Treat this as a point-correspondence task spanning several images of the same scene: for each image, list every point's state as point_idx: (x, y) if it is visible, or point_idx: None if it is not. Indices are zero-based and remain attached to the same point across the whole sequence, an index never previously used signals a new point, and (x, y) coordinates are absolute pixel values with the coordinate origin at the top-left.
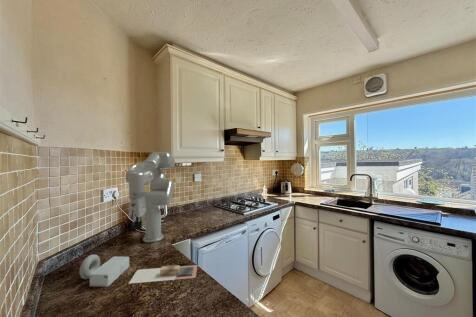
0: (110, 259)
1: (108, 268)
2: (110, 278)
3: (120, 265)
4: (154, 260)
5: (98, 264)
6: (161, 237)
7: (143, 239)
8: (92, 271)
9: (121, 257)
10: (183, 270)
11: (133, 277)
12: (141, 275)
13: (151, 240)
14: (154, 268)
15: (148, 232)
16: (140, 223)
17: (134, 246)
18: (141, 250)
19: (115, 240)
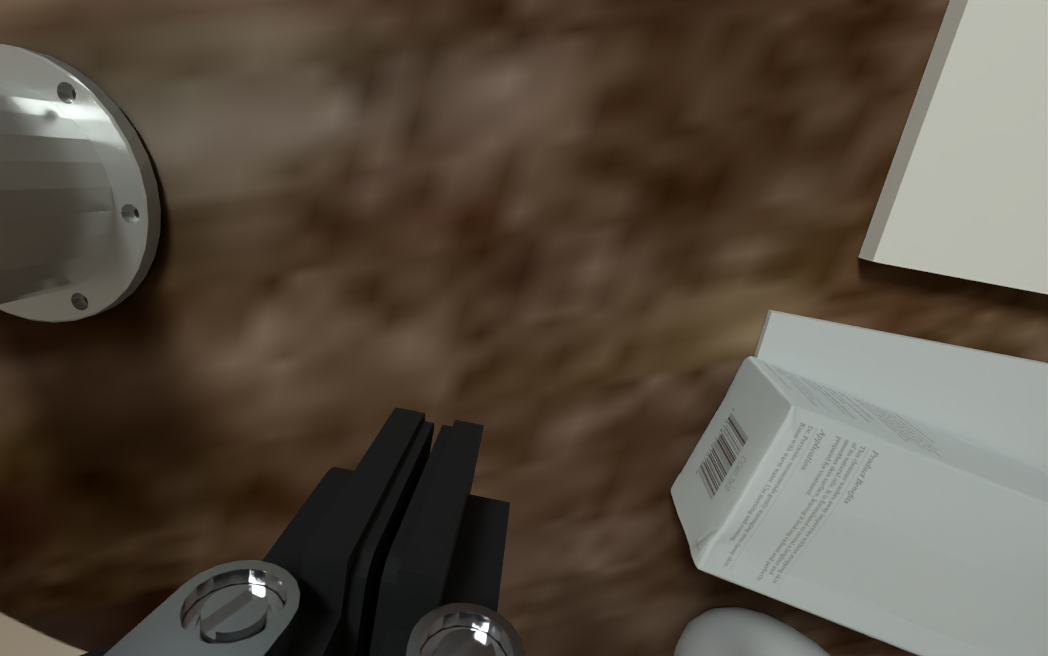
0: (766, 586)
1: (1017, 567)
2: None
3: (945, 458)
4: (664, 100)
5: (734, 650)
6: (45, 67)
7: (92, 312)
8: (783, 653)
9: (786, 487)
10: None
11: (1023, 277)
12: (1030, 198)
13: (132, 204)
14: (949, 60)
15: (5, 262)
16: (455, 519)
17: (235, 385)
18: (355, 293)
19: (62, 587)
